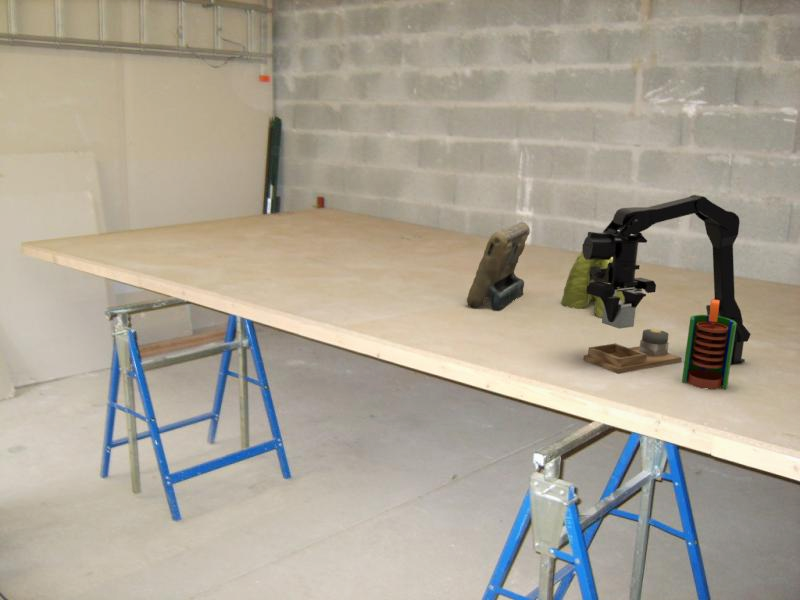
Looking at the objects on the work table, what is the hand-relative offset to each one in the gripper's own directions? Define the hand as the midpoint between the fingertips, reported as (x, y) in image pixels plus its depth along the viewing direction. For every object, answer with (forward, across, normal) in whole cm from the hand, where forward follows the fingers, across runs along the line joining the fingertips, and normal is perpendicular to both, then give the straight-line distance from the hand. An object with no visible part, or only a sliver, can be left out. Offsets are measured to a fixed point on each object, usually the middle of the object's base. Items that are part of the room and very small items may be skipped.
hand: (618, 320), depth 206 cm
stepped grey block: (+1, 0, 0) cm, 1 cm away
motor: (+11, -8, +21) cm, 25 cm away
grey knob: (+10, -13, +1) cm, 16 cm away
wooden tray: (+11, -5, +1) cm, 12 cm away
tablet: (+11, -14, -67) cm, 70 cm away
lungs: (+11, -37, -44) cm, 59 cm away
